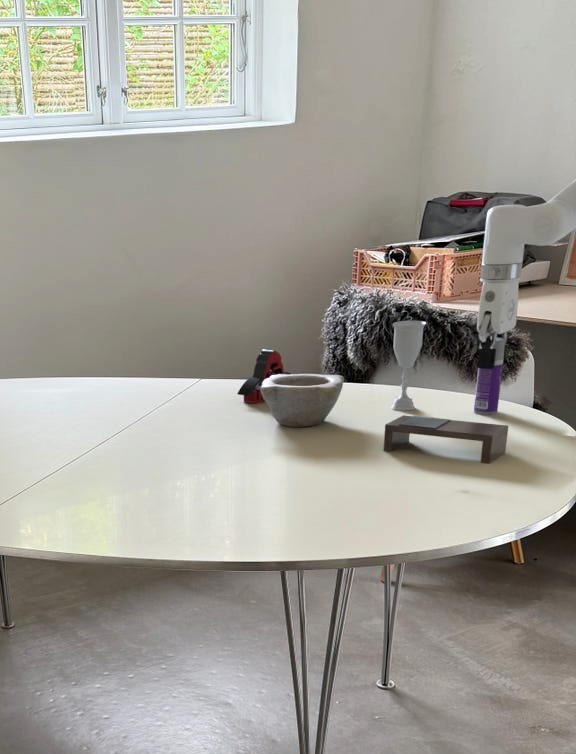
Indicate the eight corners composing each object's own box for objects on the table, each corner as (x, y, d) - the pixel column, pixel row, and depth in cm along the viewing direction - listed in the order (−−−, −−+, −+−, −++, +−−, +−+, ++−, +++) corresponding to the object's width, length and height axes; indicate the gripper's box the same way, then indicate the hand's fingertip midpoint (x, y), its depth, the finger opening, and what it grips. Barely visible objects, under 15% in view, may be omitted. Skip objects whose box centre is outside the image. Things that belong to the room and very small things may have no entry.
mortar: (346, 413, 209) (348, 371, 205) (334, 432, 195) (336, 387, 191) (270, 412, 215) (271, 371, 211) (253, 430, 201) (253, 387, 197)
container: (501, 413, 200) (509, 339, 193) (479, 415, 199) (487, 341, 193) (491, 408, 204) (499, 336, 197) (469, 410, 204) (477, 338, 197)
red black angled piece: (247, 405, 222) (247, 356, 217) (237, 403, 225) (236, 355, 220) (298, 391, 232) (299, 344, 227) (287, 390, 234) (288, 343, 230)
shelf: (505, 452, 174) (508, 424, 172) (489, 463, 169) (492, 434, 167) (401, 440, 186) (403, 414, 184) (383, 450, 181) (385, 423, 179)
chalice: (414, 412, 205) (421, 326, 198) (383, 410, 209) (388, 325, 201) (422, 405, 211) (429, 320, 203) (391, 403, 214) (397, 320, 206)
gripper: (505, 278, 181) (494, 375, 190) (534, 267, 193) (523, 359, 201) (465, 277, 186) (456, 372, 194) (497, 267, 197) (487, 357, 205)
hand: (490, 365), depth 197 cm, fingers closed on container, 4 cm apart
